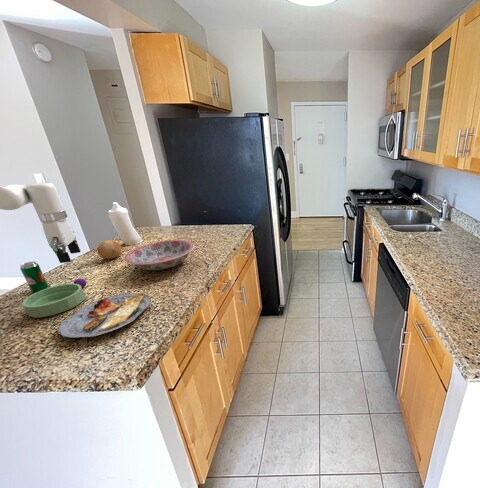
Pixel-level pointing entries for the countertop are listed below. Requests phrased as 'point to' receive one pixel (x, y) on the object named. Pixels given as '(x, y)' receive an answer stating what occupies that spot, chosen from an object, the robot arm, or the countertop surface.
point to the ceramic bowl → (160, 254)
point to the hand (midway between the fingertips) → (71, 257)
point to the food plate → (104, 315)
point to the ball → (80, 282)
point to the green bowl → (53, 300)
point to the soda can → (34, 276)
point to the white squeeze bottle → (123, 225)
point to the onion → (109, 249)
